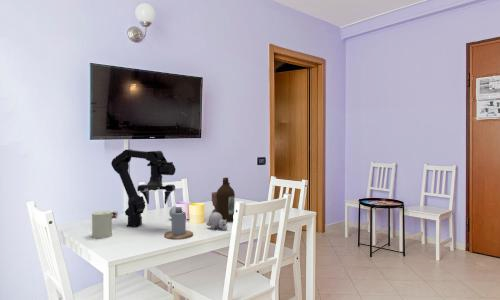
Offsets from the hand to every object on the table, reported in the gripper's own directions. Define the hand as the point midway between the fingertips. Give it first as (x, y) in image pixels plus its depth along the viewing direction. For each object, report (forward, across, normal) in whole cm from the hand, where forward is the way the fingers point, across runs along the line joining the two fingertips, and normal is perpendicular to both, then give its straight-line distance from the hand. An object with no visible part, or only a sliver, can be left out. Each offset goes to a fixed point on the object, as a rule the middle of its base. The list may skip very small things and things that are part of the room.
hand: (156, 204), depth 190 cm
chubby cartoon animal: (+14, +32, +2) cm, 35 cm away
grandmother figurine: (+11, -35, +15) cm, 40 cm away
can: (+13, -22, -16) cm, 30 cm away
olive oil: (+14, +34, +21) cm, 42 cm away
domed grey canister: (+12, +15, -12) cm, 23 cm away
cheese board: (+15, +15, -12) cm, 24 cm away
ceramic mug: (+13, +7, +21) cm, 26 cm away
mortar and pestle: (+13, +28, +41) cm, 51 cm away
